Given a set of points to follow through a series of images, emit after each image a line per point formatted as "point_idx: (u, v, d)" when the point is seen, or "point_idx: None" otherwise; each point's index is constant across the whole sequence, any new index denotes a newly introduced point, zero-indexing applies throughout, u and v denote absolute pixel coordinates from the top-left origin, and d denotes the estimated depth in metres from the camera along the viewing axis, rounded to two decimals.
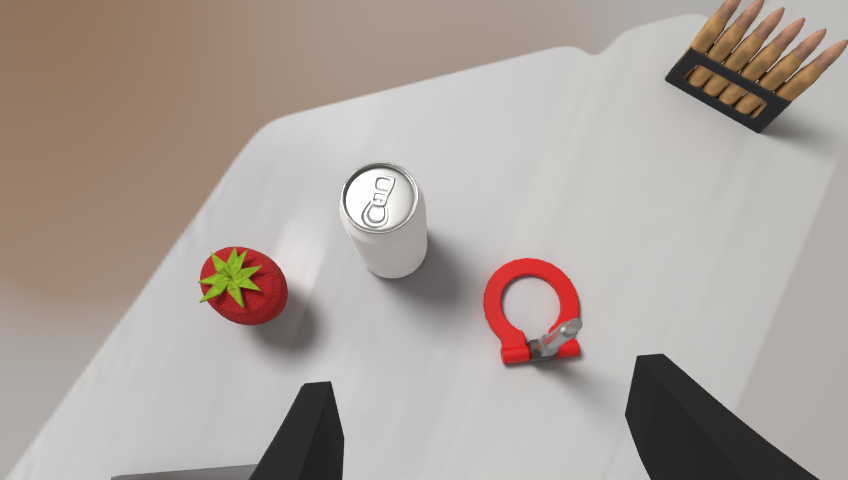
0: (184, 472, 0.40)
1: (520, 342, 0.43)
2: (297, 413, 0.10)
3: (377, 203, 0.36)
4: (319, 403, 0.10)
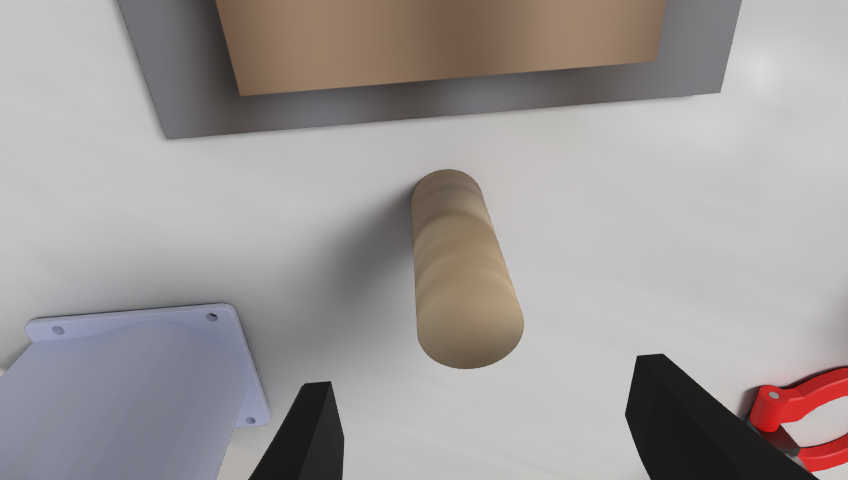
0: None
1: (786, 418, 0.27)
2: (297, 413, 0.10)
3: None
4: (319, 403, 0.10)
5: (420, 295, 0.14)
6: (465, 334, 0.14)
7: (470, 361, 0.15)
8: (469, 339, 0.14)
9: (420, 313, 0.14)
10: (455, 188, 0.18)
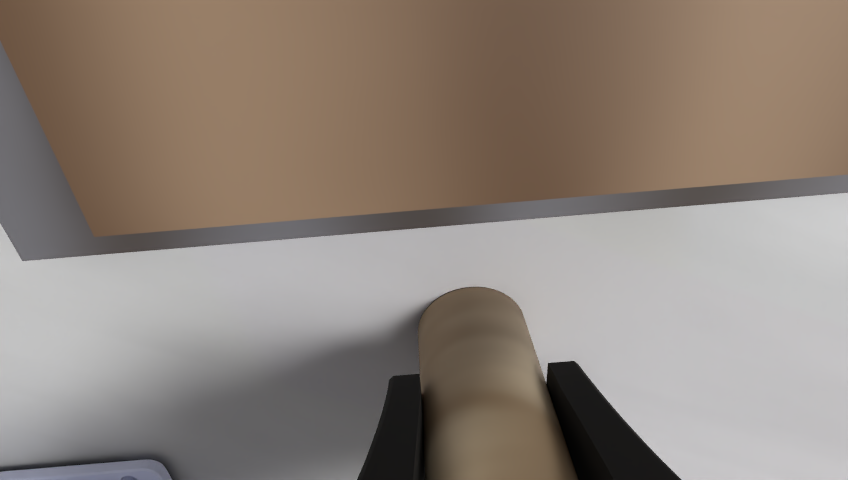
0: None
1: None
2: (395, 405, 0.10)
3: None
4: (415, 395, 0.10)
5: None
6: None
7: None
8: None
9: None
10: (490, 332, 0.12)
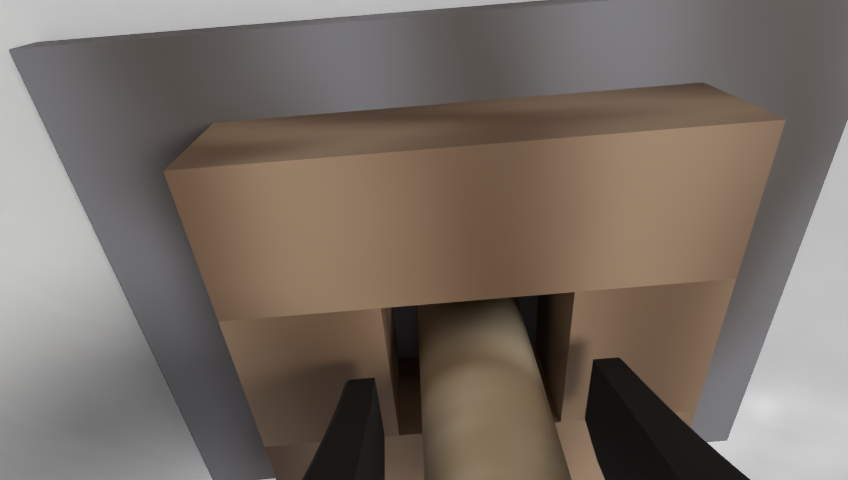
0: (809, 212, 0.14)
1: None
2: (346, 409, 0.10)
3: None
4: (366, 399, 0.10)
5: None
6: None
7: None
8: None
9: None
10: (481, 302, 0.13)
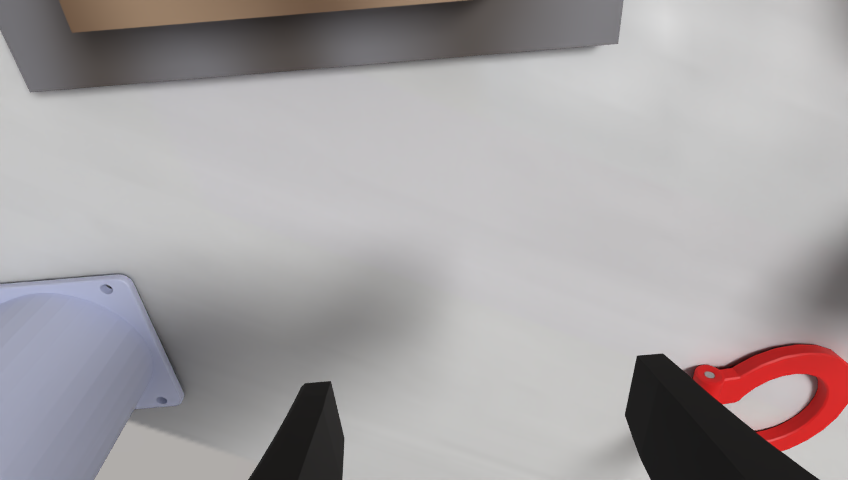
0: None
1: (724, 399, 0.26)
2: (297, 413, 0.10)
3: None
4: (319, 403, 0.10)
5: None
6: None
7: None
8: None
9: None
10: None
